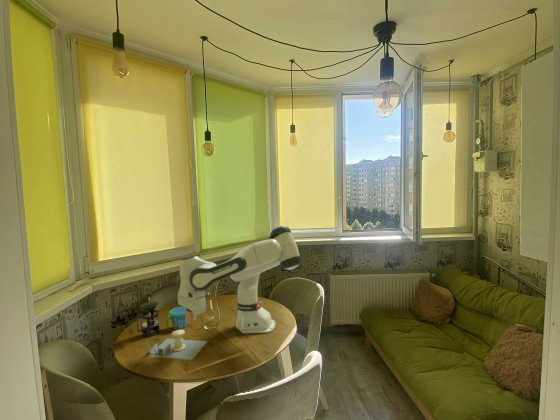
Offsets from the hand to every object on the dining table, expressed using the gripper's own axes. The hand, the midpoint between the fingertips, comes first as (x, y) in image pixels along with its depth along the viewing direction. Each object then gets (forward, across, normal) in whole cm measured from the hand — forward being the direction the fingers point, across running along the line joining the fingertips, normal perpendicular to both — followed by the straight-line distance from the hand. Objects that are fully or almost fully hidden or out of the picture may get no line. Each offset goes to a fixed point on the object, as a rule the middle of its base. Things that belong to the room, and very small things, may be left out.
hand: (191, 317), depth 137 cm
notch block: (+15, -8, -12) cm, 21 cm away
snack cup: (+16, -26, +7) cm, 32 cm away
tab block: (+2, 0, 0) cm, 2 cm away
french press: (+16, -31, -8) cm, 36 cm away
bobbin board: (+16, -5, -5) cm, 17 cm away
